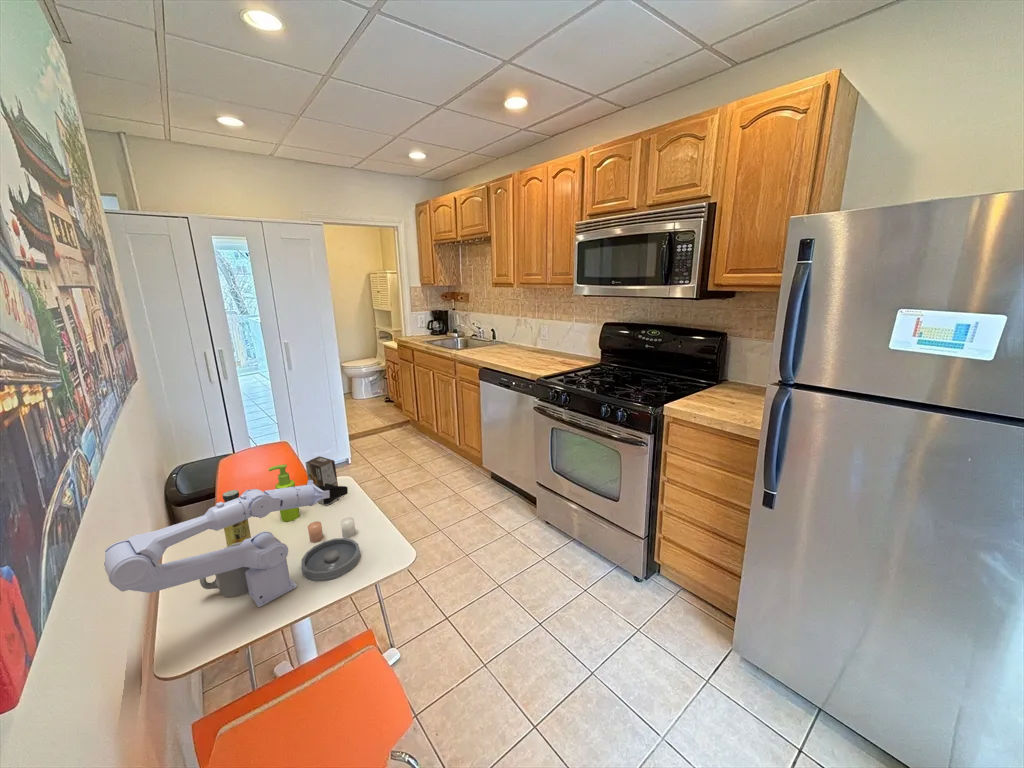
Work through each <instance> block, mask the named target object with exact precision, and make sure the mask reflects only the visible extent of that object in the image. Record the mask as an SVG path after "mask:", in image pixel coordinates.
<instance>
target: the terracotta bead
mask: <svg viewBox="0 0 1024 768" xmlns="http://www.w3.org/2000/svg"><path fill="white" fill-rule="evenodd" d="M323 531H324V530H323V525H322V522H321V521H313V522H310V523H309V524H308V525H307V532H308V536H309V537H308V538H309V542H310V543H318V542H321V541H322V540H323V539H324V532H323Z"/></svg>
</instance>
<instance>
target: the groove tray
mask: <svg viewBox="0 0 1024 768" xmlns="http://www.w3.org/2000/svg"><path fill="white" fill-rule="evenodd" d="M359 546H360V545H359V543H358V542H357V541H355V540H354V539H351V538H344V537H338V538H332V539H329V540H325V541H322V542H320V543H318V544H316V545H314V546H313V547H311V548H310V549H309V550H307V551H306V552H305V554H304V555H303V556H302V559H301V572H302V576H303V577H304V578H306V579H307V580H310V581H311V582H312V581H313V582H325V581H331V580H334V579H338V578H340V577H342V576H343V575H346V574H347V573H349V572H350V571H352V570H353V569H354V568H355V567H356V566H357V565H358V563H359V561H360V560H361V555H362V554H361V550H360V547H359Z"/></svg>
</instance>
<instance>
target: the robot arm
mask: <svg viewBox="0 0 1024 768" xmlns="http://www.w3.org/2000/svg"><path fill="white" fill-rule="evenodd" d="M348 489H349V488H348V486H346V485H345V486H344V485H338V486H334V485H331V484H328V483H327V484H325V486H316V485H314V484H313V480H308V479H307V483H306V484H303V485H298V486H297V485H295V487H288V488H280V489H276V488H274V489H267V490H264V491H262V490H261V489H258V488H252V489H246V490H245V491H244V492H243V493H241V495H239V498H236V499H234V500H231V501H228V502H224V501H219V502H217V503H215V505H214V506H212V507H209V508H208V510H206V512H205V513H204V514H203V515H201V516H198V517H195V518H192V519H191V518H190V519H189V520H185V521H181V522H178V523H176V524H172V525H169V526H166V527H163V528H160V529H157V530H153V531H150V532H143V533H139V534H135V535H132V536H130V537H128V538H127V539H124V540H119V541H116V542H114V543H112V544H110V545H109V546H108V547H106V549H105V550H104V551H105V552H106V553H105V562H104V566H105V568H104V571H105V572H106V575H107V577H108V578H107V579H108V581H109V583H110V584H111V585H112V586H113V587H114V588H116V589H117V590H118V591H120V592H121V593H123V592H126V591H133V592H142V593H147V594H150V593H151V594H152V593H156V592H159V591H163V590H167V589H170V588H173V587H177V586H180V585H184V584H188V583H191V582H195V581H197V580H200V579H202V578H205V577H206V578H209V577H212V576H215V575H216V574H219V573H223V572H226V571H230V570H233V569H237V568H240V567H249V568H250V569H248V570H247V571H245V575H246V580H247V585H248V590H249V592H248V595H249V596H250V598H251V599H252V600H253V602H254V603H255V605H256V607H258V608H260V607H263V606H264V605H266V604H269V603H271V602H272V601H274V600H275V599H277V598H279V597H281V596H283V595H285V594H287V593H289V592H290V591H292V590H295V589H296V588H297V586H298V585H297V584H296V583H295V582H294V580H293V579H292V578H291V576H290V570H289V564H288V560H287V557H288V555H289V547H288V546H287V544H286V543H284V542H282V541H281V540H279V539H278V538H277V537H276V536H274V534H273V533H272V532H270V531H267V530H266V531H261V532H258V533H256V534H255V535H253V536H251V538H249V539H245V540H244V541H243V542H242V543H241V544H240V545H238V546H233V547H229V548H225V547H224V548H225V549H224V548H222V549H217V550H213V551H209V552H206V553H202V554H197V555H193V556H190V557H189V556H188V557H185V558H181V559H178V560H177V559H176V560H173V561H168V562H165V563H159V561H160V560H161V558H162V557H163V555H164V554H165V552H166V550H167V549H168V548H170V547H172V546H174V545H176V544H178V543H181V542H183V541H185V540H187V539H189V538H192V537H195V536H196V535H199V534H201V533H203V532H205V531H207V530H213V531H216V532H217V531H220V530H222V529H223V530H224V528H226V527H228V526H231V525H233V524H236V523H238V522H241V521H243V520H246V519H248V520H249V519H250V518H255V517H256V518H259V519H263V518H265V517H267V516H268V515H269V514H271V513H273V512H280V510H286V509H292V508H298V507H299V508H302V507H303V508H304V507H307V506H309V507H312V506H315V505H317V504H318V503H317V502H319V501H320V500H322V499H323V500H324V504H329V503H331V502H332V501H333V500H335V499H337V498H339V497H340V498H341V497H344V496H346V495H348V494H349V493H348V492H349V491H348ZM331 504H332V503H331Z"/></svg>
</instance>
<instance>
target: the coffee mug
mask: <svg viewBox="0 0 1024 768" xmlns="http://www.w3.org/2000/svg"><path fill="white" fill-rule="evenodd" d="M241 543H242V542H239V543H235V544H232V545H230V546H227V545H226V547H223V549H225V548H229V547H233V546H238V545H240V544H241ZM248 569H250V568H249V567H240V568H237V569H233V570H230V571H226V572H223V573H219V574H216V575H214V576H215V579H214V580H213V581H211V582H208V581H207V577H205V578H202V579H199V584H200V586H201V587H202V588H203V589H205V590H213V589H217V590H219V592H220V595H222V597H224V598H236V597H240V596H242V595H246V594H247V593H248V594H249V590H248V585H247V580H246V575H245V571H247V570H248Z"/></svg>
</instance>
